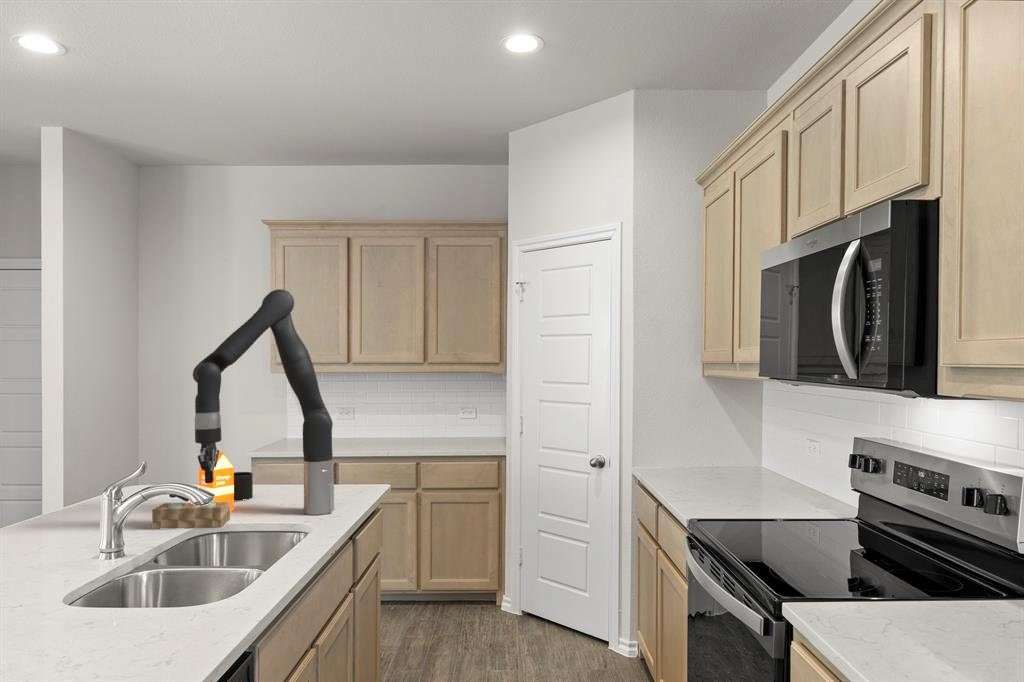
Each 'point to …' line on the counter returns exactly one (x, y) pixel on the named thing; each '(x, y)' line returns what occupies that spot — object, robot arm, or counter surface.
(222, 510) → the oak block
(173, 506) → the peg
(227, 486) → the orange juice
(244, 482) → the black cylinder
